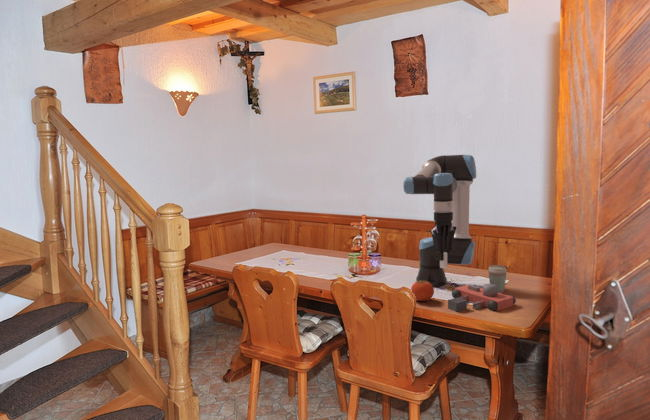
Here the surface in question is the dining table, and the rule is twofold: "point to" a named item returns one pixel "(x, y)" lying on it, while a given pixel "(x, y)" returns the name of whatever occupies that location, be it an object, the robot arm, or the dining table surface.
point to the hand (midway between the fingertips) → (443, 267)
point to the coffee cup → (498, 276)
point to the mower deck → (485, 296)
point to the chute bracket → (476, 304)
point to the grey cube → (457, 304)
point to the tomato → (422, 290)
